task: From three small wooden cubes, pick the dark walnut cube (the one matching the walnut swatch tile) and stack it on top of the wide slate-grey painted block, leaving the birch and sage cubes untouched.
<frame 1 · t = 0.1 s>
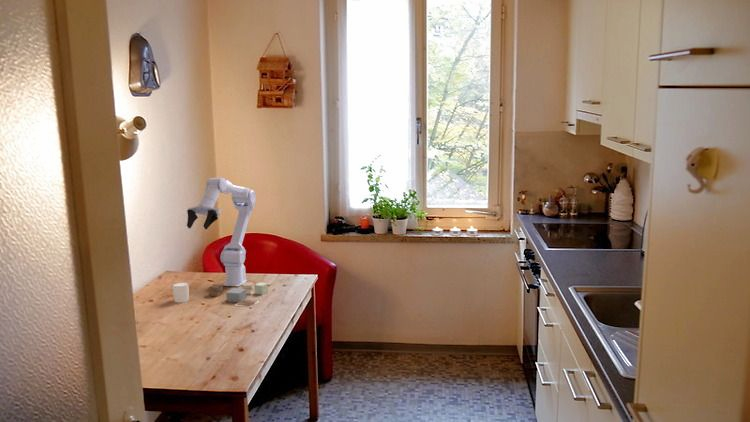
hand: (196, 227, 269), 32 cm above the table, tool tilted 50°, fingers open, 7 cm apart
birch cube: (247, 292, 288), on the table
walnut cube: (216, 294, 286), on the table
slate base: (236, 299, 279), on the table
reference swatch: (247, 303, 273), on the table
sage cube: (261, 293, 287), on the table
shot glass: (181, 300, 279), on the table
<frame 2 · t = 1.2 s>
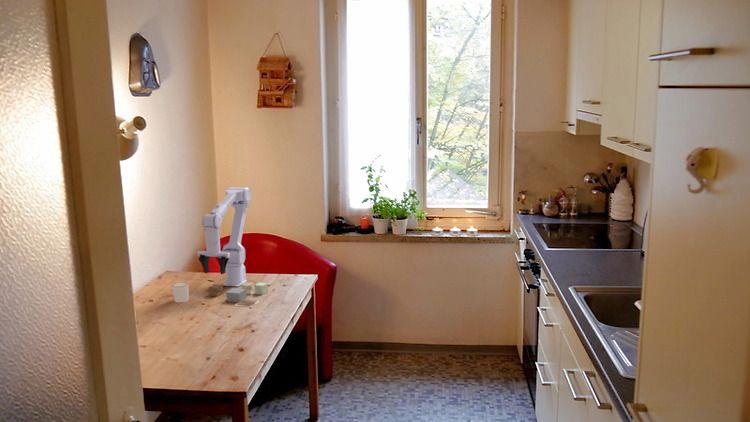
hand: (214, 273, 284), 9 cm above the table, tool pointing down, fingers open, 7 cm apart
nothing on the table moved.
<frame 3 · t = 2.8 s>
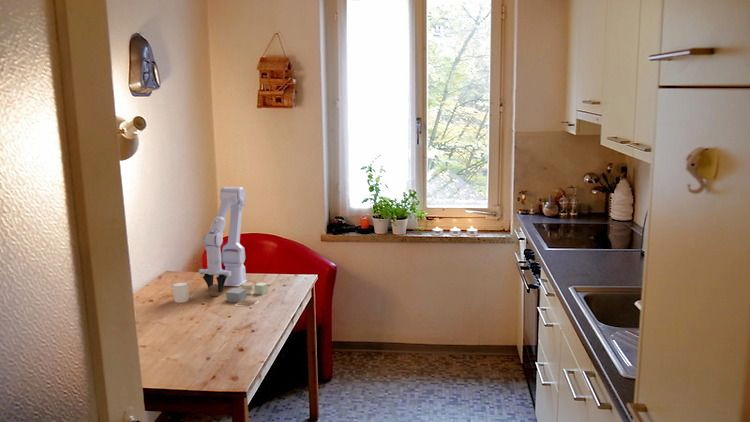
hand: (216, 291, 286), 1 cm above the table, tool pointing down, fingers closed on walnut cube, 4 cm apart
walnut cube: (216, 294, 286), on the table, touching gripper
everything else where it was.
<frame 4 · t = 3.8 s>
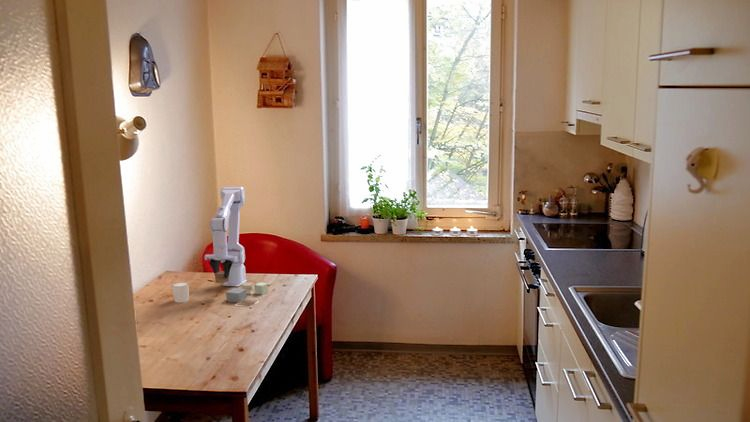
hand: (222, 277, 282), 8 cm above the table, tool pointing down, fingers closed on walnut cube, 4 cm apart
walnut cube: (222, 281, 282), point 6 cm above the table, touching gripper
everything else where it was.
when the fingers open (6 cm above the table, at t = 5.0 s): walnut cube stays where it is, resting on slate base.
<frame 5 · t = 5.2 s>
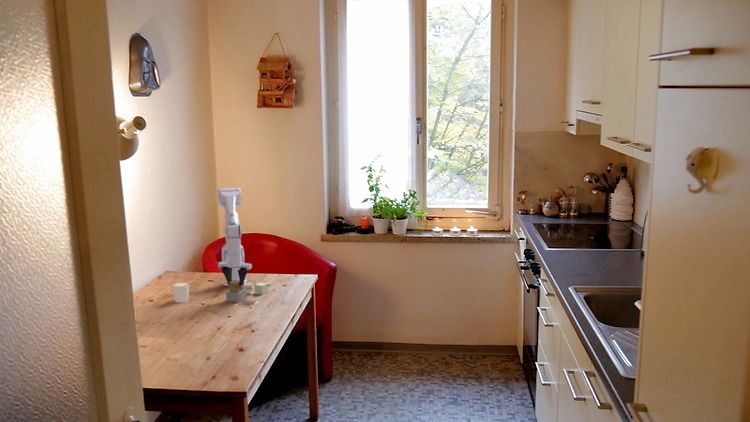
hand: (235, 284, 278), 6 cm above the table, tool pointing down, fingers open, 5 cm apart
walnut cube: (236, 290, 278), point 4 cm above the table, touching slate base
slate base: (236, 299, 279), on the table, touching walnut cube
everything else where it was.
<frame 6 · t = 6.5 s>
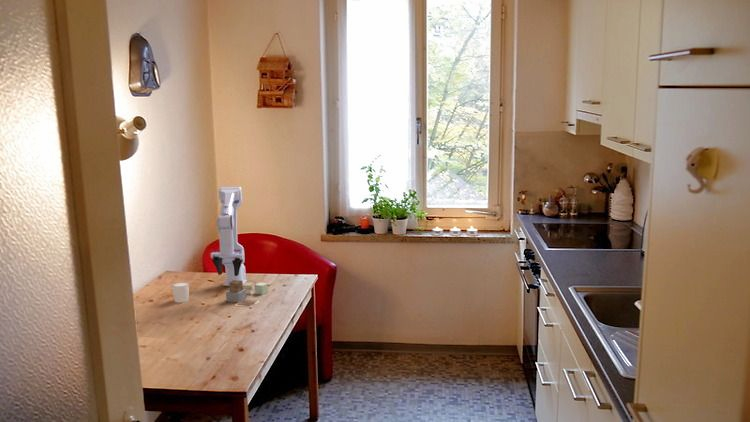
hand: (228, 274, 280), 10 cm above the table, tool pointing down, fingers open, 7 cm apart
nothing on the table moved.
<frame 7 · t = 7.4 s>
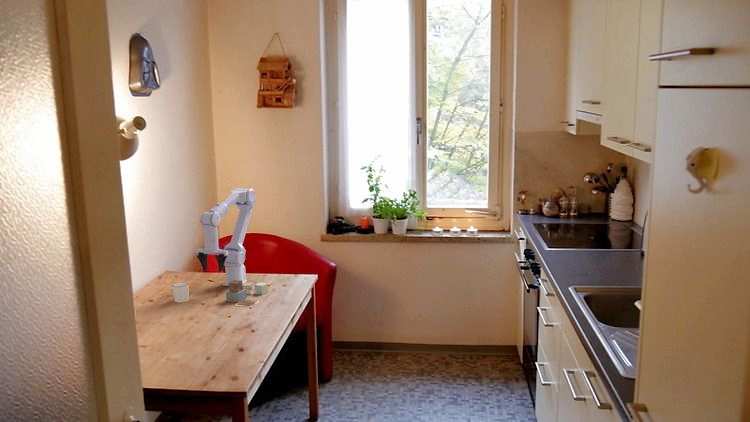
hand: (213, 270, 287), 10 cm above the table, tool pointing down, fingers open, 7 cm apart
walnut cube: (236, 290, 278), point 4 cm above the table
slate base: (236, 299, 279), on the table
everything else where it was.
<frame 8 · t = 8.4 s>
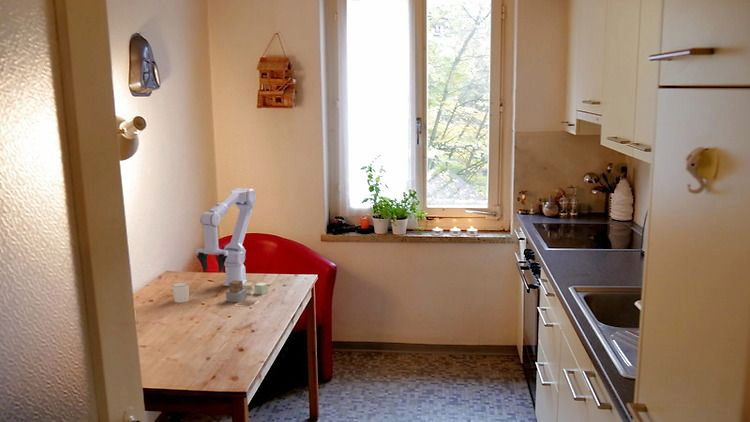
hand: (213, 270, 287), 10 cm above the table, tool pointing down, fingers open, 7 cm apart
walnut cube: (236, 290, 278), point 4 cm above the table, touching slate base
slate base: (236, 300, 279), on the table, touching walnut cube
everything else where it was.
at the end: walnut cube 0.1 cm off-centre on the slate base, point 4.0 cm above the slate base's base; walnut cube tilted 0°; the gripper is holding nothing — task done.
